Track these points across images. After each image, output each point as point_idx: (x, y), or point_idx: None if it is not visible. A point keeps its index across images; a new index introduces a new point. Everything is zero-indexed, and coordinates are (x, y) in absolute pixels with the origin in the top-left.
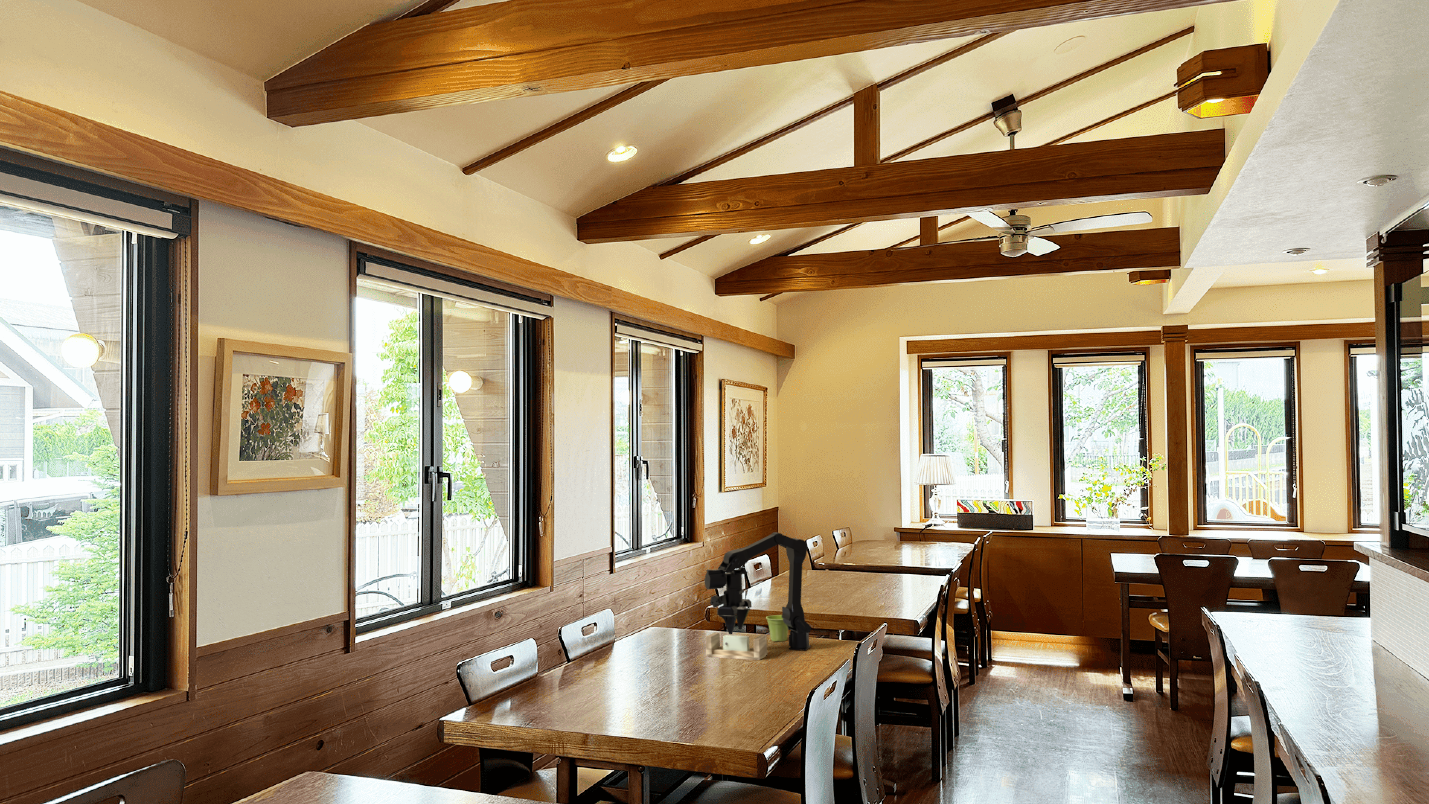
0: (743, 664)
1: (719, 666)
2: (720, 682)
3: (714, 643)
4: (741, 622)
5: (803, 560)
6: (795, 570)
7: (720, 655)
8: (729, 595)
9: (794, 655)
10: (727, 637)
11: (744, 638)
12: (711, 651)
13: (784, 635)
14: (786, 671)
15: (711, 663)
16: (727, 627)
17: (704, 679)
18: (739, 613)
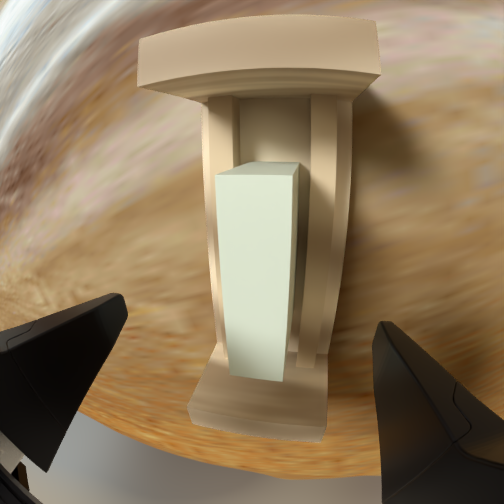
0: (137, 309)
1: (78, 229)
2: (10, 285)
3: (240, 87)
4: (383, 405)
5: None
6: None
7: (203, 162)
8: None
9: (329, 427)
10: (219, 223)
11: (229, 359)
12: (195, 99)
13: None
14: (139, 410)
15: (98, 174)
16: (58, 318)
17: (2, 242)
18: (426, 491)
